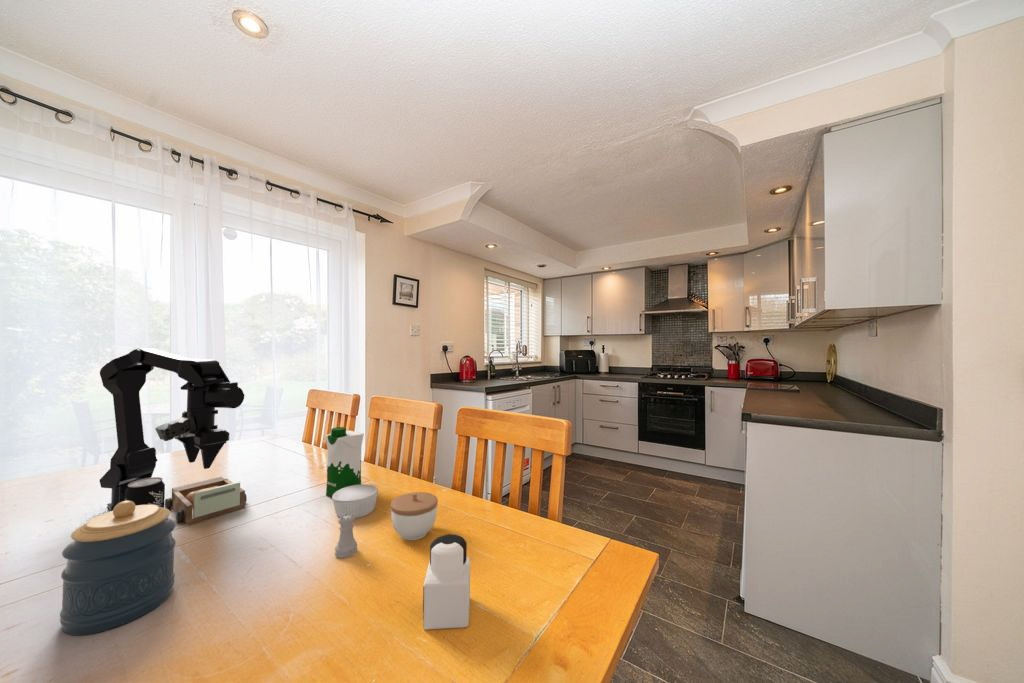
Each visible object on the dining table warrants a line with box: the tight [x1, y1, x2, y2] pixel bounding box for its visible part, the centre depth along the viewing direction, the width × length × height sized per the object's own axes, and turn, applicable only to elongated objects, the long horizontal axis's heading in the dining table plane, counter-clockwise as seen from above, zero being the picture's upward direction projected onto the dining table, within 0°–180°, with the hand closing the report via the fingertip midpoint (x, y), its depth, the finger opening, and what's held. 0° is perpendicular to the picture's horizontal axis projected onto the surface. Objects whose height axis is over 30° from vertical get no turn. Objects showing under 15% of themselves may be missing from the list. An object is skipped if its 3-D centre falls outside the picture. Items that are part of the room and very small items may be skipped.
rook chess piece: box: [334, 513, 358, 559], centre depth 76 cm, size 4×4×8 cm
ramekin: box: [331, 483, 379, 519], centre depth 96 cm, size 11×11×5 cm
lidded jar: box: [390, 491, 439, 541], centre depth 85 cm, size 11×11×9 cm
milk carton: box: [325, 426, 365, 498], centre depth 107 cm, size 9×9×20 cm
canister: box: [59, 501, 177, 636], centre depth 60 cm, size 13×13×18 cm
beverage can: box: [125, 476, 166, 508], centre depth 84 cm, size 7×7×12 cm
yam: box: [186, 486, 219, 504], centre depth 99 cm, size 3×8×3 cm, turn 144°
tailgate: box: [193, 481, 241, 518], centre depth 93 cm, size 1×9×6 cm, turn 144°
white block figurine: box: [422, 533, 471, 631], centre depth 60 cm, size 7×7×12 cm
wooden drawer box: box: [164, 476, 248, 525], centre depth 98 cm, size 18×14×4 cm
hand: (199, 465), depth 95 cm, fingers open, 9 cm apart
